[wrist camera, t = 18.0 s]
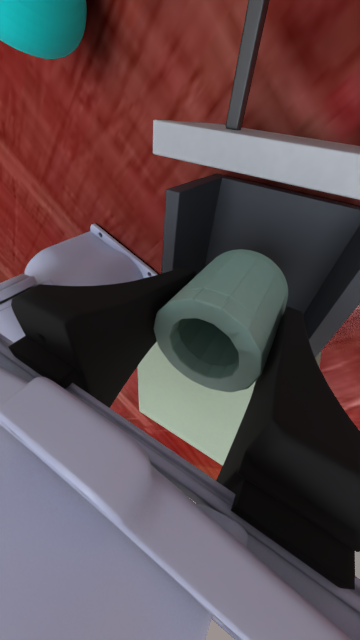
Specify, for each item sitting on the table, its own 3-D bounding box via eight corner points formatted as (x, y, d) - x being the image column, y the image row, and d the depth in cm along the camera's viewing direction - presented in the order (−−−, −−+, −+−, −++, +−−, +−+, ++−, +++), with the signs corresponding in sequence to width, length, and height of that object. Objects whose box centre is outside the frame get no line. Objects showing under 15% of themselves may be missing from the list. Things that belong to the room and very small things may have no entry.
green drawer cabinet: (190, 271, 23) (135, 319, 17) (325, 324, 19) (314, 410, 13) (176, 361, 32) (139, 411, 27) (262, 408, 29) (240, 477, 23)
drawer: (238, -19, 11) (157, -131, 6) (577, -37, 7) (964, -325, 3) (188, 296, 23) (149, 336, 19) (303, 346, 20) (288, 410, 15)
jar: (250, 338, 14) (218, 404, 10) (191, 290, 14) (141, 340, 11) (311, 290, 10) (293, 365, 7) (232, 228, 11) (178, 273, 7)
